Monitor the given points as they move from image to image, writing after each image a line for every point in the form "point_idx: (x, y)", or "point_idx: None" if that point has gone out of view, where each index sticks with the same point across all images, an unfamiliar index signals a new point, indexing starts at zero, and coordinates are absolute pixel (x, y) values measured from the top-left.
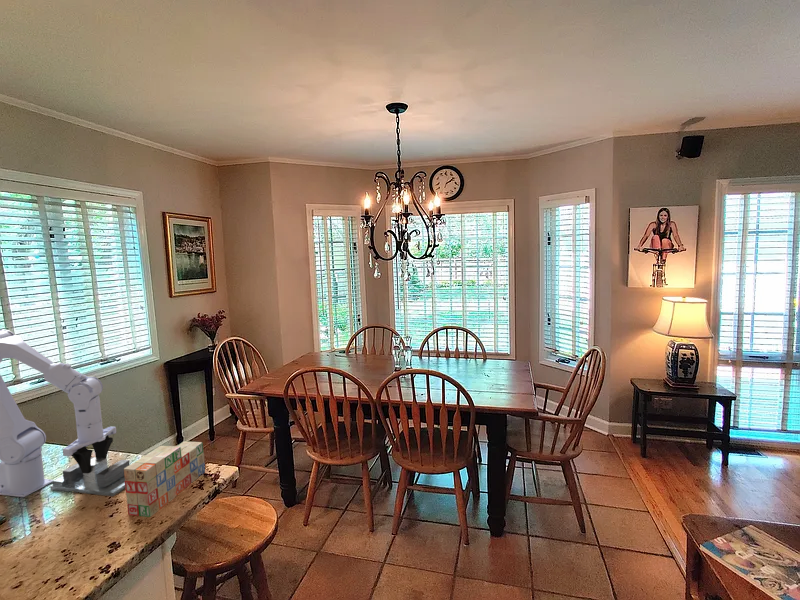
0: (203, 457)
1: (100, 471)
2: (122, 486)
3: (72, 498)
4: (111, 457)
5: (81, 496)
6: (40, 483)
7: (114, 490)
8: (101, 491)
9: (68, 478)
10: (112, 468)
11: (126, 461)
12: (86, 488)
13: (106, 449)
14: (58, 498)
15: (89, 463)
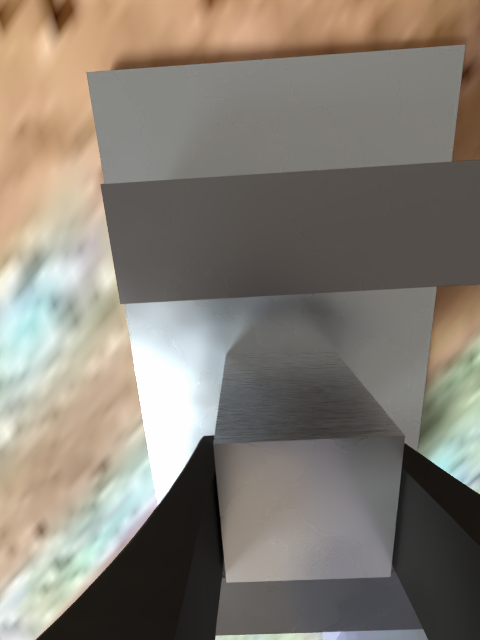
0: None
1: (297, 379)
2: (358, 53)
3: (475, 352)
4: (25, 544)
5: (451, 317)
6: None
7: (432, 63)
8: None
9: None
10: (334, 209)
11: (137, 189)
12: (415, 339)
13: (155, 583)
14: (475, 430)
15: (447, 496)
